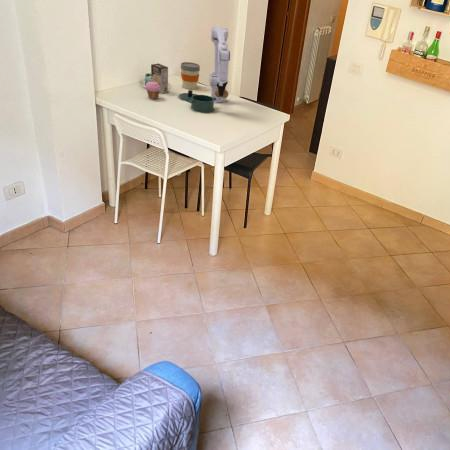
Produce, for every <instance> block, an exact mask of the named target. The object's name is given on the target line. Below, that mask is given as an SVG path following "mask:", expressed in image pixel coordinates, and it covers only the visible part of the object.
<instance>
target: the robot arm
mask: <svg viewBox="0 0 450 450" xmlns="http://www.w3.org/2000/svg"><path fill="white" fill-rule="evenodd" d="M228 39H229V29H228V27H218V26H211V29H210V41H211V42H212V43H213V45H214V61H213V63H214V64H213V65H214V67H213V68H214V69H213V70H212V71H211V72H210V73H209V78H208V79H209V80H208V81H209V86H210V87H211V88H210V89H211V91H210V97H212V98H213V97H214V98H216V100H214V104H217V103H224V102H227V98H221V97H217V96H216V95H215V91H216V90H217V89H218V91H219V96H223V94H224V90H226V91H227V85H228V83H229V79H228V76H229V64H230V63H229V62H230V61H231V51H230V50H229V48H228V47H229V45H228V43H227V41H228Z"/></svg>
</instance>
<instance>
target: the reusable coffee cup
mask: <svg viewBox="0 0 450 450" xmlns="http://www.w3.org/2000/svg"><path fill="white" fill-rule="evenodd" d="M200 70H201V67H200V64H198V63H195V62H190V61H189V62H188V61H184V62H181V63H180V75H181V77H180V78H181V81H182V87H183V88H184V89H187V90H196V89H197V87H198V82H199V79H200Z"/></svg>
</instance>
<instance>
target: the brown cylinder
mask: <svg viewBox="0 0 450 450" xmlns="http://www.w3.org/2000/svg"><path fill="white" fill-rule="evenodd" d="M215 95H216V96H217V97H221V98H226V99H227V98H228V97H229V92H228V90H227V89H226V90H224V94H223V96H219V91H218V89H217V90H216V91H215Z"/></svg>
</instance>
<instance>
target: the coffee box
mask: <svg viewBox="0 0 450 450" xmlns="http://www.w3.org/2000/svg"><path fill="white" fill-rule="evenodd" d="M150 75H151V77H150V78H151V79H150V80H151V81H150V82H157V83H158V84H159V85H160V87H161V90H160V91H159V94H166V93H168V92H169V66H166V65H163V64H162V63H152V64H150Z"/></svg>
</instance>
